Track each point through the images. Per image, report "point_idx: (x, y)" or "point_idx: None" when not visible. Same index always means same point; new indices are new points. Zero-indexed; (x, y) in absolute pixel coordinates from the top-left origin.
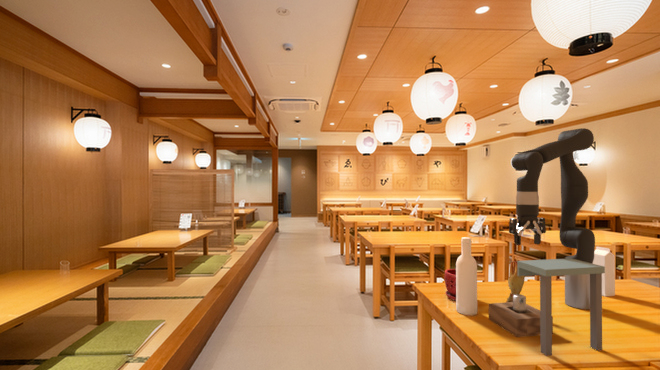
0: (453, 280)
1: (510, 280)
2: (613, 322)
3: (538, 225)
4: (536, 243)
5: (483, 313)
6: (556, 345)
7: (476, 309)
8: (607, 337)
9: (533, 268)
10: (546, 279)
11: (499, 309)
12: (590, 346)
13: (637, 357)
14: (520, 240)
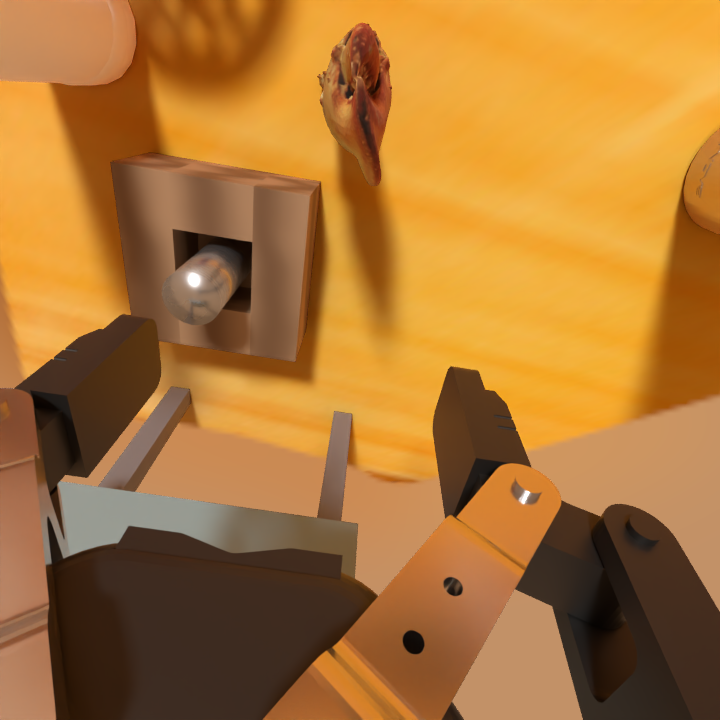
0: None
1: (324, 87)
2: (617, 342)
3: (654, 687)
4: (441, 400)
5: (165, 79)
6: (249, 377)
7: (104, 79)
8: None
9: None
10: None
11: (122, 242)
12: (334, 412)
13: (393, 467)
14: (122, 423)
